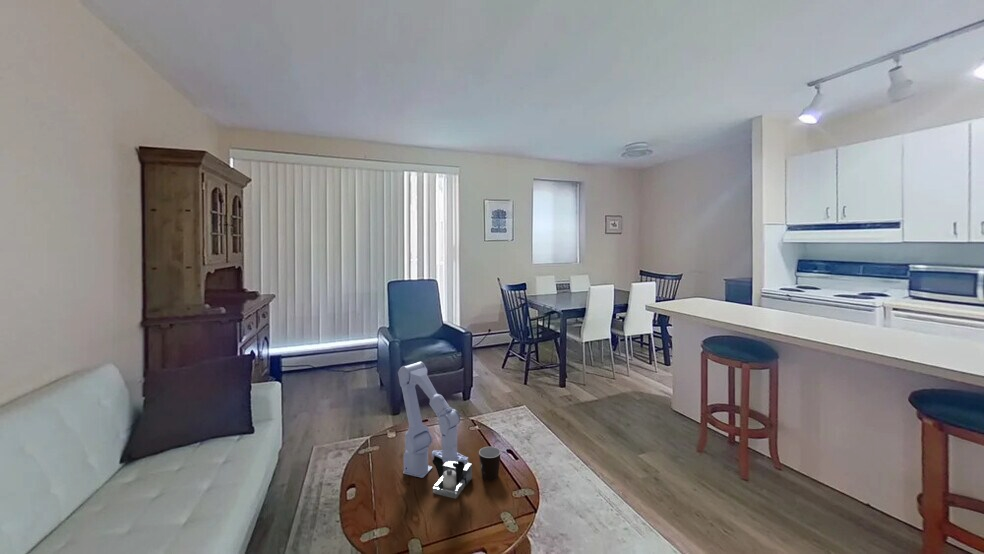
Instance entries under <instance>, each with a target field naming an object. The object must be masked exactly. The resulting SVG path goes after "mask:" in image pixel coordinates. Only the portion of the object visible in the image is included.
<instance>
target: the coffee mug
mask: <svg viewBox="0 0 984 554" xmlns="http://www.w3.org/2000/svg"><path fill="white" fill-rule="evenodd" d="M501 452H502V451H501V450H500V448H499V447H495V446H484V447H482V448H480V449H479V450H478V456H479V462H480V464H479V466H480V470H481V478H482V479H483V480H484V481H486V482H493V481H496V480H497V479H498V478H499V470H500V462H501V461H500V460H501V455H502V454H501Z"/></svg>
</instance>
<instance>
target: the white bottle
mask: <svg viewBox="0 0 984 554" xmlns="http://www.w3.org/2000/svg"><path fill="white" fill-rule="evenodd" d="M442 476H443V486H442V488H443V489H447V490H451V491H454V489H455V488H456V487H457V483H456V472H455V471H453V470H451V469H448V470H447V471H445V472H444V473H443V475H442Z"/></svg>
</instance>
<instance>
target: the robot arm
mask: <svg viewBox="0 0 984 554" xmlns="http://www.w3.org/2000/svg"><path fill="white" fill-rule="evenodd" d="M397 375H398V381H399V382H398V383H399V385H400V386H399V387H401V392H402V396H403V400H404V401H403V402H404V406H405V411H406V416H407V421H408V427H409V428H408V429H407V431H406V432H405V434H404V437H405V438H404V439H405V441H404V446H405V451H404V454H403V472H402V474H404V475H408V476H411V477H418V478H420V479H423V478H424V477H425V476H427V474H428V473H429V472H430V471H431V470H432V469H433V466H431V465H429V449H430V446H431V444H432V443H433V438H432V437H433V436H432V433H431V432H430V429H429V426H427V425H425V424H423V420H422V415H421V414H422V413H421V411H420V405H419V399H418V395H417V391H416V385H418V386H419V388H420V389H421V390H422V391H423V393H424V395H426V396H427V398H428V399H429V406H430V407H431V408H432V411H433V412H434V414H435V415H436V416H437V418H438V419H437V423H438V427H439V429H440V430H439V431H440V434H441V450H437V449H436V450H435V449H433V451H432V452H431V456H430V457H431V458H433V459H432V464H433V465H434V467H435V469H436V472H437V475H438V478H439V479H440V478H441V477H442V476H443V465H444V463H446V462H448V461H456V462H458V463H457V465H456V466H455V468H456V472H457V482H459V481H460V480H461V476H462V472H463V469H464V467H465V465H466V464H467V463H469V457H468V456H465V455H463V454H461V453H459V452H458V425H459V424H460V422H461V417H460V414H459V412H458V410H456V409H455V408H453V407H451V406H450V404H449V403H448V402H447V401H446V399H445V398H444V396H443V395H442V394H440V393H438V391H437V390H436V389H435V387H434V385H433V383H432V382H431V380H430V377H429V376H428V368H427V367H426V364H425V362H423V361H417V362H415V363H411V364H407V365H402V366H401V367H400V368H399V369H398V370H397Z"/></svg>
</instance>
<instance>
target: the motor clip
mask: <svg viewBox="0 0 984 554" xmlns="http://www.w3.org/2000/svg"><path fill="white" fill-rule="evenodd" d="M457 463H458V462H456V461H448V462H444V463H443V473H444V472H445V471H447V470H448V469H451V470H453V471H455V472H456V468H455V466H456V465H457ZM472 465H473V464H472V463H470V462H468V463H467V464H466V465H465V467H464V469H463V472H462V476H461V480H460V481H459V482H457V472H456V488H455V489H454V491H451V490H447V489H443V475H442V476H441V478H440V477H439V479H438V480H437V482H436V483H435V484H434V485H433V487H432V493H433V494H435V495H439V496H443V497H448V498H452V499H455V500H456V499H457V498H458V497H459V495H460V494H461V493H462V492H463V490H464V489H465V487H466V486H467V485H468V484H469V483H470V481H471V480H472V478H473V472H472V471H473V468H472V467H473V466H472Z"/></svg>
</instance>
